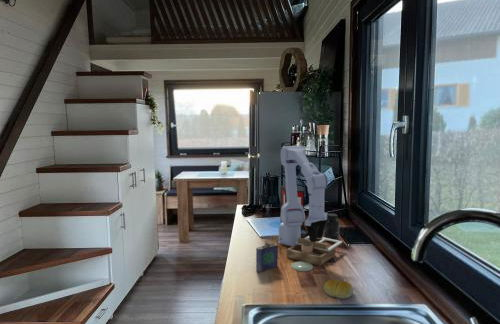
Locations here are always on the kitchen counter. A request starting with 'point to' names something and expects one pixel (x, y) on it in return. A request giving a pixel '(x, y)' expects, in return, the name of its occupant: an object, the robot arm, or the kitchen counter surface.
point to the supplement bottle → (332, 227)
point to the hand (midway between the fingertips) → (316, 239)
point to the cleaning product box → (284, 199)
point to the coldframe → (310, 255)
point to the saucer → (302, 266)
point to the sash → (319, 243)
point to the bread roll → (338, 289)
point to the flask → (266, 257)
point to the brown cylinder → (307, 248)
